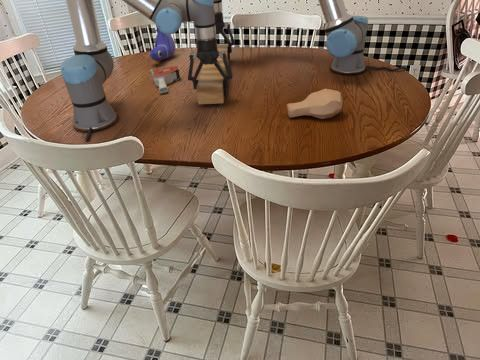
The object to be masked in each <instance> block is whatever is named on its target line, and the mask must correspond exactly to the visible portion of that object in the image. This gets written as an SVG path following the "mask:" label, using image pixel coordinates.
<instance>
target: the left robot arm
mask: <svg viewBox="0 0 480 360" xmlns="http://www.w3.org/2000/svg"><path fill="white" fill-rule="evenodd" d="M121 1H122V2H124V3H125V4H126V5H128V6H129V7H131V8H132V9H134V10H135V11H136V12H138V13H140V14H141V15H143V16H144V17H146V19H148V20H150V21H151V22H152V23H154V24H155V25H156V27H157V30H160V31H161V32H162V33H164V34H167V35H168V34H170V35H173V34H176V33H177V31H178V30H180V28H181V27H182V23H193V27H194V35H195V39H196V40H195V43H196V52H195V53H193V52H191V53H189V57H188V58H189V68H188V74H187V81H191V82H192V85H193V89H194V90H197V89H196V87H197V84H198V80H199V79H198V78H199V75H200V73H201V70H202V67H203V64H204V65H207V64H214V65H215V66H216V68H217V69H218V71H219V72H220V74H221V75H222V76H223V89H224V98H225V97H227V89H228V88H229V80H230V79H233V73H232V70H231V67H230V65H229V63H228V61H227V59H226V52H225V51H224V52H218V50H217V44H218V41H217V39H218V38H216V37H217V33H216V27H215V15H214V4H213V0H121ZM65 2H66V6H67V10H68V14H69V17H70V23H71V26H72V31H73V35H74V38H75V41H76V42H75V44H74V45H73V48H72V49H73V53H74V55H72V56H70V57H67V58H65V59H64V60H63V61H62V62H61V64H60V66H59V68H60V72H61V73H60V74H61V77H62V79H63V82H64V84H65V87H66V90H67V93H68V96H69V99H70V101H71V104H72V108H73V114H72V117H73V118H72V119H73V125H74V128H75V129H76V131H78V132H84V133H87V134H86V136H85V138H84V140H85V141H86V142H89V139H90V136H91V134H92V132H99V131H102V130H105V129H107V128H110V127H111V126H113V125H115V124H116V122H117V121H118V116H117V113H116V111H115V110H114V108H113V107H112V105H111V103H110V102H109V101H108V99H107V96H106V92H105V89H104V87H103V86H104V84H105V83H106V81H107V80H108V79H109V78H110V76H111V75H112V73H113V72H114V67H115V61H114V58H113V56H112V54H111V53H110V52H109V51H108V46H107V43H105V42H104V41H102V37H101V32H100V27H99V23H98V18H97V15H96V7H95V2H94V0H65ZM218 56H220V57H221V58H222V59H223V62H224V65H225V68H226V71H227V74H226V73H225V71H224V70H223V68H222V67H221V65H220V64H219V62H218V60H217V58H218ZM196 58H197V59H198V60H199V64H198V66H197V68H196V71H195V73H194V75H193V70H194V63H195V60H196Z"/></svg>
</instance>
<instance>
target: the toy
mask: <svg viewBox="0 0 480 360" xmlns="http://www.w3.org/2000/svg"><path fill="white" fill-rule="evenodd" d="M153 32H157V34H156V35H155V40H154V47H152V48H150V50H149V54H148V55H149V57H150V58H151V59H152V60H153V61H155V62H156V64H157V66H159V64H160V61H162V60H166V59H168V58H170V57H172V56H173V54H174V53H175V52H176V43H175V42H176V41H175V39H174V38H173V36H172V34H164V33H162V32H161V31H160V30H159V29H154V31H153Z"/></svg>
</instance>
